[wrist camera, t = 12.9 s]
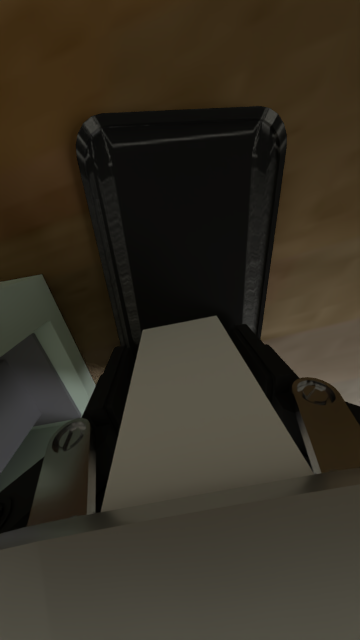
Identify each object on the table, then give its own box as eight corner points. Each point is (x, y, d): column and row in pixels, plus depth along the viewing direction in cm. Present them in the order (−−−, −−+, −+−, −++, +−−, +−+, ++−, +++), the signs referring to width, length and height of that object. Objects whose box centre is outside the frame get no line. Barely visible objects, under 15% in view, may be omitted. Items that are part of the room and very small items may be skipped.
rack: (41, 274, 9) (-83, 315, 4) (144, 486, 18) (137, 574, 13) (-161, 311, 9) (-485, 390, 5) (39, 505, 18) (-4, 599, 13)
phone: (292, 104, 7) (251, 407, 13) (275, 122, 8) (245, 394, 14) (63, 115, 6) (136, 419, 13) (77, 131, 7) (138, 405, 14)
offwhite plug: (213, 311, 11) (320, 484, 3) (219, 366, 12) (298, 561, 5) (144, 324, 11) (97, 525, 3) (159, 378, 12) (152, 586, 5)
